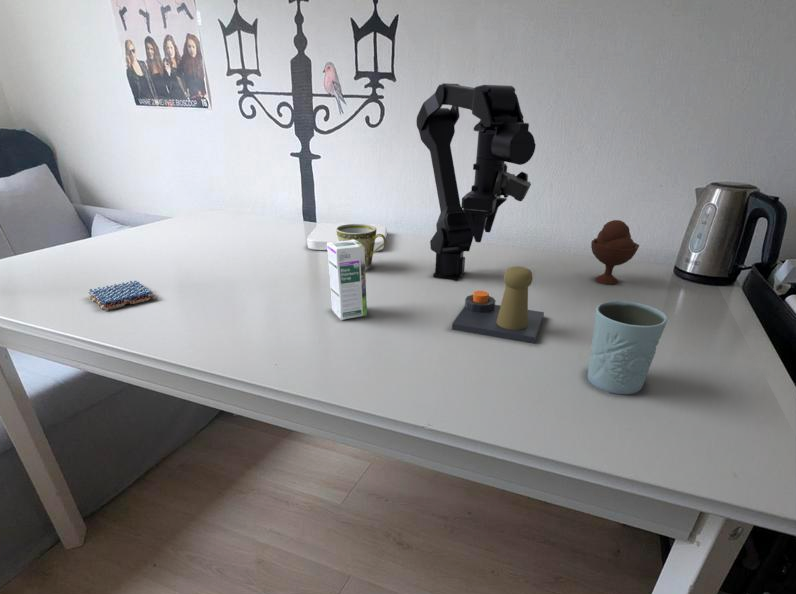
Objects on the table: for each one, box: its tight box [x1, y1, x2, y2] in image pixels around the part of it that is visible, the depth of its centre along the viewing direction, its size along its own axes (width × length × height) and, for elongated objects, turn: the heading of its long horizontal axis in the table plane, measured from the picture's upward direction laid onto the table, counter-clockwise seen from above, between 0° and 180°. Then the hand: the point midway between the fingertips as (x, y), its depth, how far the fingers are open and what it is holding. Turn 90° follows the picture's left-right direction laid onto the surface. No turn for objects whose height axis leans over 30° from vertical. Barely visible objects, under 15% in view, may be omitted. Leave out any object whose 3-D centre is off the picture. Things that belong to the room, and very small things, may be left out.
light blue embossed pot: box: [587, 300, 668, 396], centre depth 76 cm, size 10×10×12 cm
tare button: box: [472, 290, 490, 303], centre depth 101 cm, size 3×3×2 cm
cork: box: [497, 266, 533, 330], centre depth 92 cm, size 6×6×11 cm
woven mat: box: [88, 280, 156, 311], centre depth 103 cm, size 10×11×2 cm
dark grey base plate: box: [451, 294, 545, 345], centre depth 97 cm, size 16×14×3 cm
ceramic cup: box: [336, 223, 387, 272], centre depth 123 cm, size 13×10×10 cm
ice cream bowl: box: [590, 219, 640, 286], centre depth 118 cm, size 11×11×15 cm
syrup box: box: [326, 239, 368, 321], centre depth 97 cm, size 6×6×14 cm
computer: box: [306, 222, 388, 252], centre depth 147 cm, size 22×22×3 cm
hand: (483, 237), depth 105 cm, fingers open, 9 cm apart
